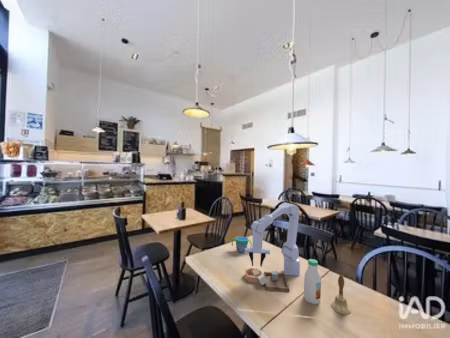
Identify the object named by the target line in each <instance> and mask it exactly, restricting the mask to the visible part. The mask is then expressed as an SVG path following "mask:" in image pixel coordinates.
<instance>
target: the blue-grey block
mask: <svg viewBox="0 0 450 338" xmlns="http://www.w3.org/2000/svg"><path fill="white" fill-rule="evenodd" d="M271 272H272V274H271V277H272V280H278V273H279V272H278V271H277V270H276V271H275V270H271Z"/></svg>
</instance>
